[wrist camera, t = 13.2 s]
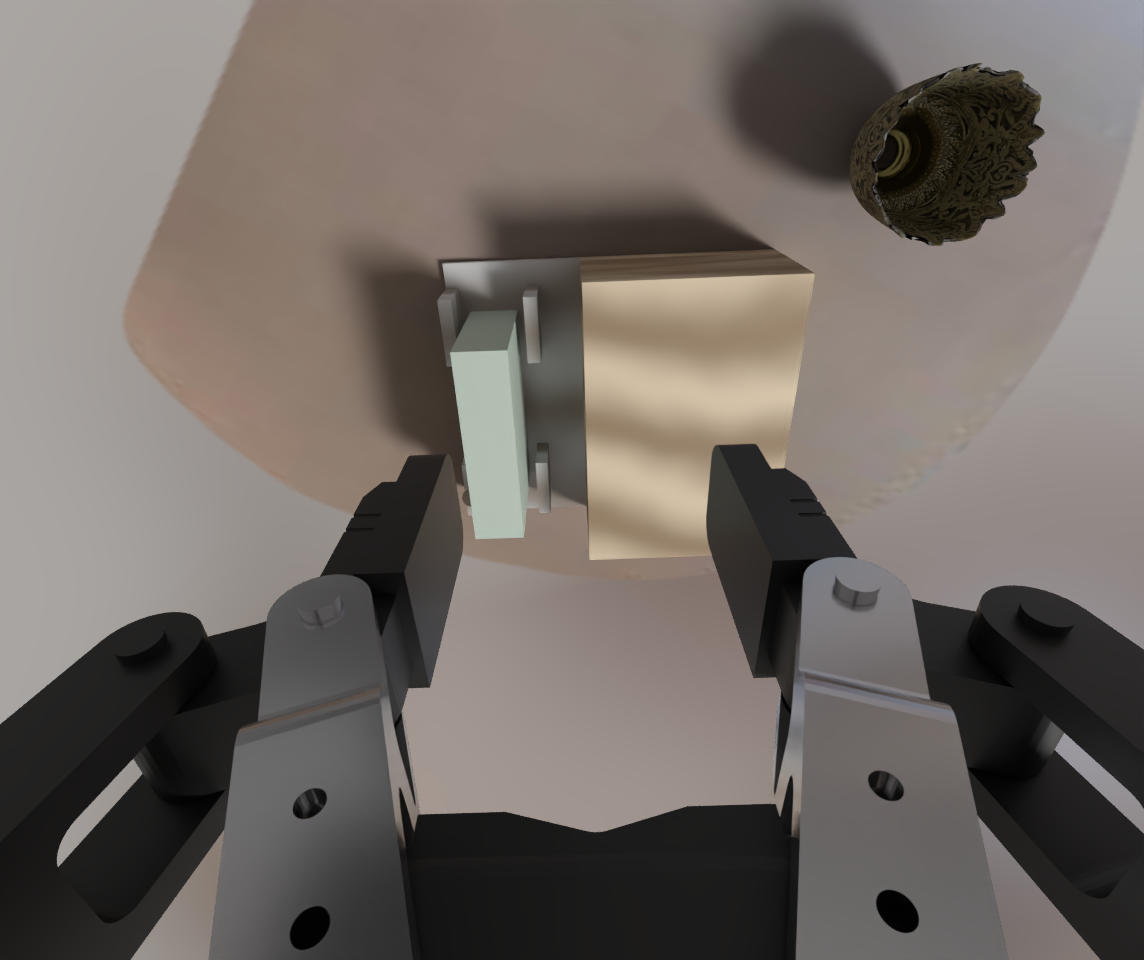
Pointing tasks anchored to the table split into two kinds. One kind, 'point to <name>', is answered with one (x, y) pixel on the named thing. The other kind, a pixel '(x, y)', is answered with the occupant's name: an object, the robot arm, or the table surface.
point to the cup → (948, 153)
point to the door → (493, 422)
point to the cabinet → (643, 379)
